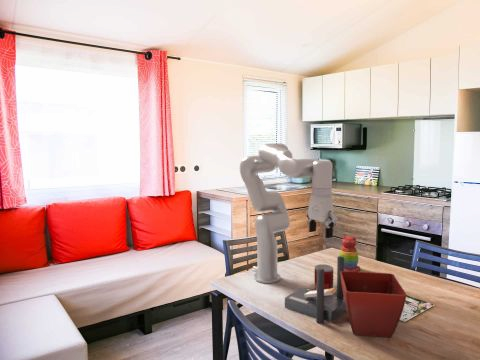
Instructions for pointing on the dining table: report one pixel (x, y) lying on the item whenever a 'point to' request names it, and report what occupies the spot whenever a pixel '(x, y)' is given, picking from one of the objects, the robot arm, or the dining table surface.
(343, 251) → the stacking bear
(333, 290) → the paddle
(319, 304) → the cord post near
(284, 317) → the dining table surface
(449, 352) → the dining table surface
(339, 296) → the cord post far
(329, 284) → the canned food
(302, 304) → the breaker panel
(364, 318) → the plant pot
